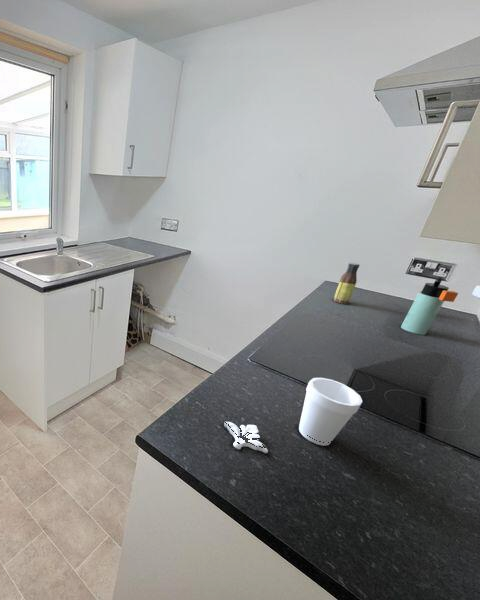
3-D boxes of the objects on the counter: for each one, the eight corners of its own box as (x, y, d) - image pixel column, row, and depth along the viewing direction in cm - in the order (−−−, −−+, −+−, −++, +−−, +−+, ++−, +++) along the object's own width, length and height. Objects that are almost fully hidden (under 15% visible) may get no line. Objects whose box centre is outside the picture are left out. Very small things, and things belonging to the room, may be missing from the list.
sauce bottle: (351, 304, 154) (367, 266, 146) (340, 304, 153) (356, 265, 145) (339, 299, 160) (354, 262, 152) (328, 299, 159) (343, 262, 151)
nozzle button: (453, 302, 117) (458, 293, 116) (442, 300, 118) (446, 291, 116) (449, 300, 119) (454, 291, 117) (438, 298, 119) (443, 290, 118)
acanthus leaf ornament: (223, 425, 75) (225, 419, 74) (252, 427, 75) (254, 421, 74) (235, 450, 68) (238, 444, 67) (267, 453, 68) (270, 447, 67)
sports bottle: (431, 336, 126) (462, 282, 117) (409, 333, 127) (438, 279, 118) (416, 327, 133) (444, 275, 124) (396, 324, 134) (422, 273, 125)
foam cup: (287, 434, 73) (306, 390, 68) (294, 414, 80) (312, 372, 75) (337, 458, 68) (361, 412, 63) (340, 434, 74) (363, 391, 69)
